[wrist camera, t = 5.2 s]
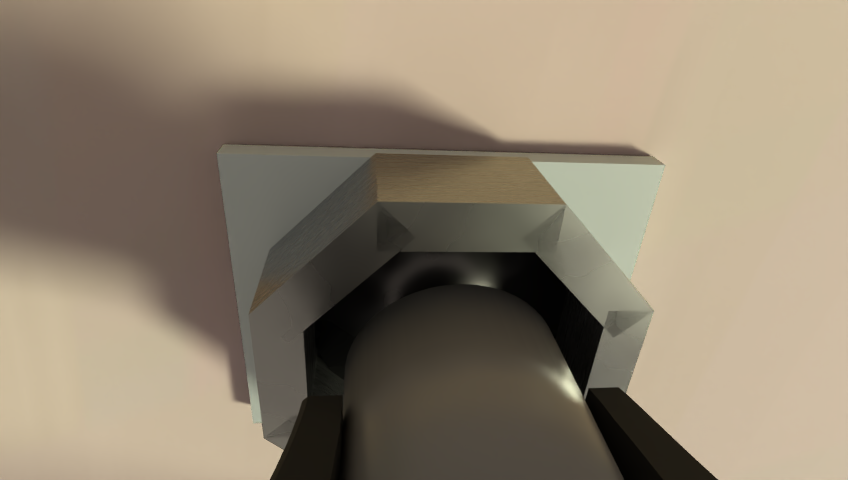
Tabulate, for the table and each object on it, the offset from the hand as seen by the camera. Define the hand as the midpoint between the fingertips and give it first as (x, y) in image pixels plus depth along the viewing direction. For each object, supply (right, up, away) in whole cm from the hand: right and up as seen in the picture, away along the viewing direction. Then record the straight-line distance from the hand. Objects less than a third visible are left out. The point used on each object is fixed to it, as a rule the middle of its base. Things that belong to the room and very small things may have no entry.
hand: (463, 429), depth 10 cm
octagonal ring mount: (0, +2, +3) cm, 4 cm away
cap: (0, +1, +1) cm, 2 cm away
